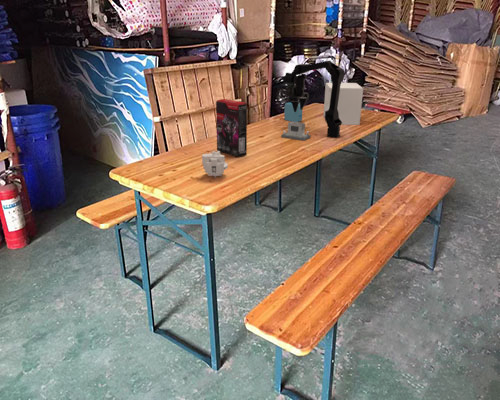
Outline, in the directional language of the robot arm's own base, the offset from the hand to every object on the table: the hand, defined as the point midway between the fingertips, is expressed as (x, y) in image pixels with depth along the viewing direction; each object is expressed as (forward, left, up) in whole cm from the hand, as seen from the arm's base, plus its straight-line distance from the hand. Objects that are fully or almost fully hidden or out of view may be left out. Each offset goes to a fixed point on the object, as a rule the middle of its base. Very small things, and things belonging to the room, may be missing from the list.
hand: (298, 110), depth 276 cm
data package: (+14, -22, -13) cm, 29 cm away
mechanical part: (-8, +100, -13) cm, 101 cm away
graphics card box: (+6, +66, -13) cm, 67 cm away
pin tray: (-8, +18, -12) cm, 23 cm away
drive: (-8, +18, -11) cm, 22 cm away
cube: (-13, -41, -13) cm, 45 cm away
